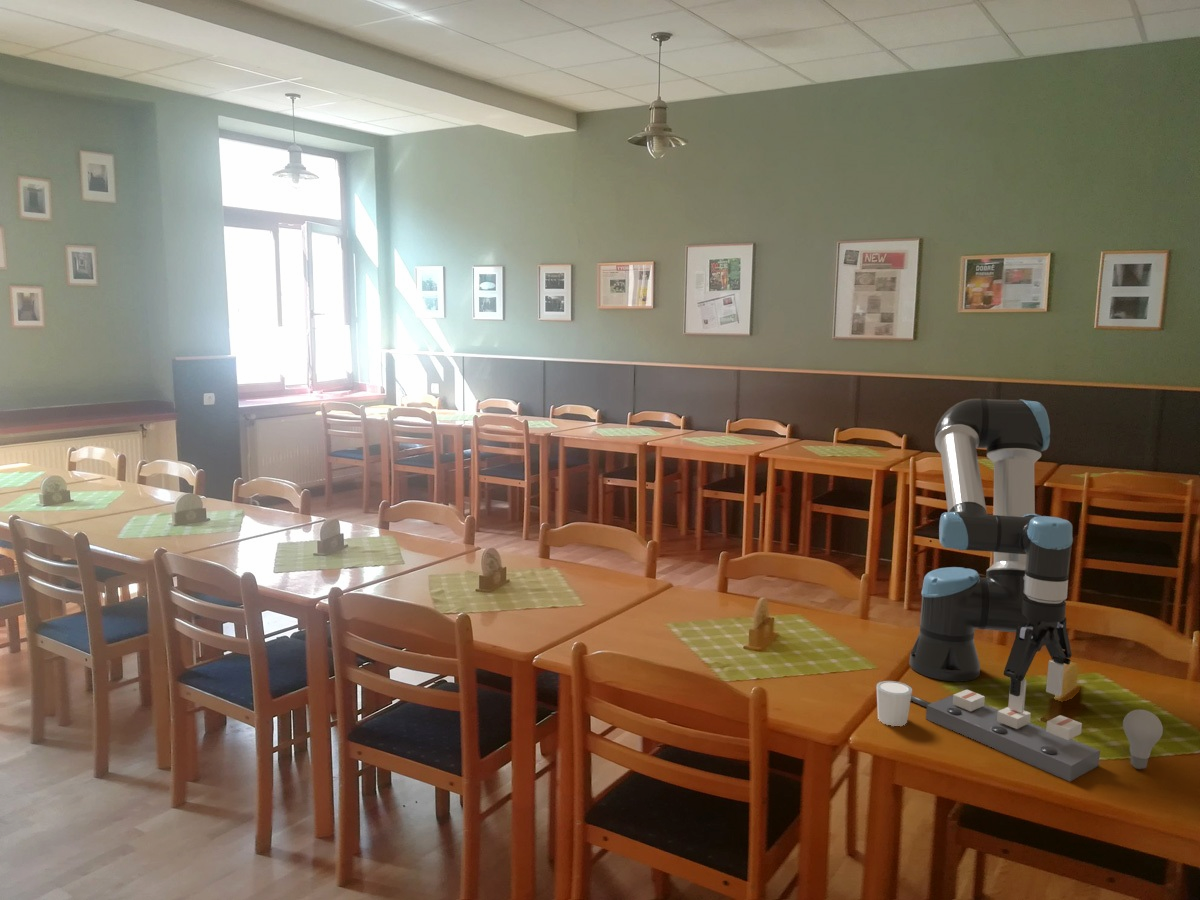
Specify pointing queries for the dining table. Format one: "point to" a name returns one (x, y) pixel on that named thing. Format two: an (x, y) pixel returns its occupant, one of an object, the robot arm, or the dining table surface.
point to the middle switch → (1013, 718)
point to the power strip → (1015, 738)
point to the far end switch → (1064, 727)
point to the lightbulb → (1141, 735)
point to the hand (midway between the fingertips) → (1035, 702)
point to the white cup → (893, 702)
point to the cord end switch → (968, 700)
